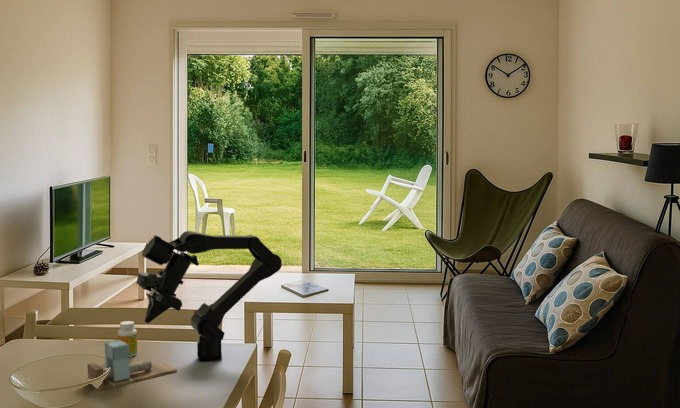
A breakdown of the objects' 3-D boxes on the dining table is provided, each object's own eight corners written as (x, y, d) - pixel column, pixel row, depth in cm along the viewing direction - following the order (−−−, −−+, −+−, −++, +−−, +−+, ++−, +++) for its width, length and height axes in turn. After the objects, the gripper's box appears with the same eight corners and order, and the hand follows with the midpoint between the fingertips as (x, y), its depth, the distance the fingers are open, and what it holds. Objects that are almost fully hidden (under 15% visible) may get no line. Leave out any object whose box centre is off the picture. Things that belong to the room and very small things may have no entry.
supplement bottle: (131, 358, 199) (130, 325, 198) (114, 356, 200) (113, 324, 199) (140, 352, 204) (139, 320, 203) (124, 351, 205) (123, 319, 204)
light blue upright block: (120, 371, 185) (119, 339, 184) (129, 378, 180) (128, 344, 179) (105, 375, 182) (104, 342, 181) (115, 381, 178) (114, 348, 177)
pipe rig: (163, 363, 194) (163, 346, 194) (176, 371, 188) (176, 353, 188) (86, 382, 180) (85, 362, 179) (98, 390, 174) (97, 371, 173)
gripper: (140, 254, 195) (112, 302, 193) (160, 267, 180) (130, 320, 177) (172, 270, 201) (146, 317, 199) (194, 284, 186) (166, 336, 183)
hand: (146, 322), depth 189 cm, fingers closed
